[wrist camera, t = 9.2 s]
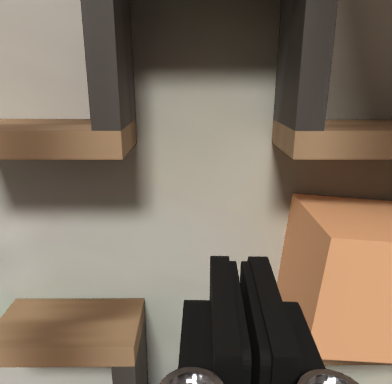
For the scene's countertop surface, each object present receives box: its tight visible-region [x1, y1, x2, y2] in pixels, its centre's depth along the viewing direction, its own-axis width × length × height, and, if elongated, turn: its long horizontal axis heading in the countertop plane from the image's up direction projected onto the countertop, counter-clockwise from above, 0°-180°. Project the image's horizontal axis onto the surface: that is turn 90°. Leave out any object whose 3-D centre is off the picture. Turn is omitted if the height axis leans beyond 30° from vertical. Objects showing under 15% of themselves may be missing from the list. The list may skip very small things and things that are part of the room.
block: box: [277, 193, 392, 363], centre depth 16 cm, size 5×5×5 cm
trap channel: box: [0, 0, 392, 384], centre depth 16 cm, size 21×22×4 cm
